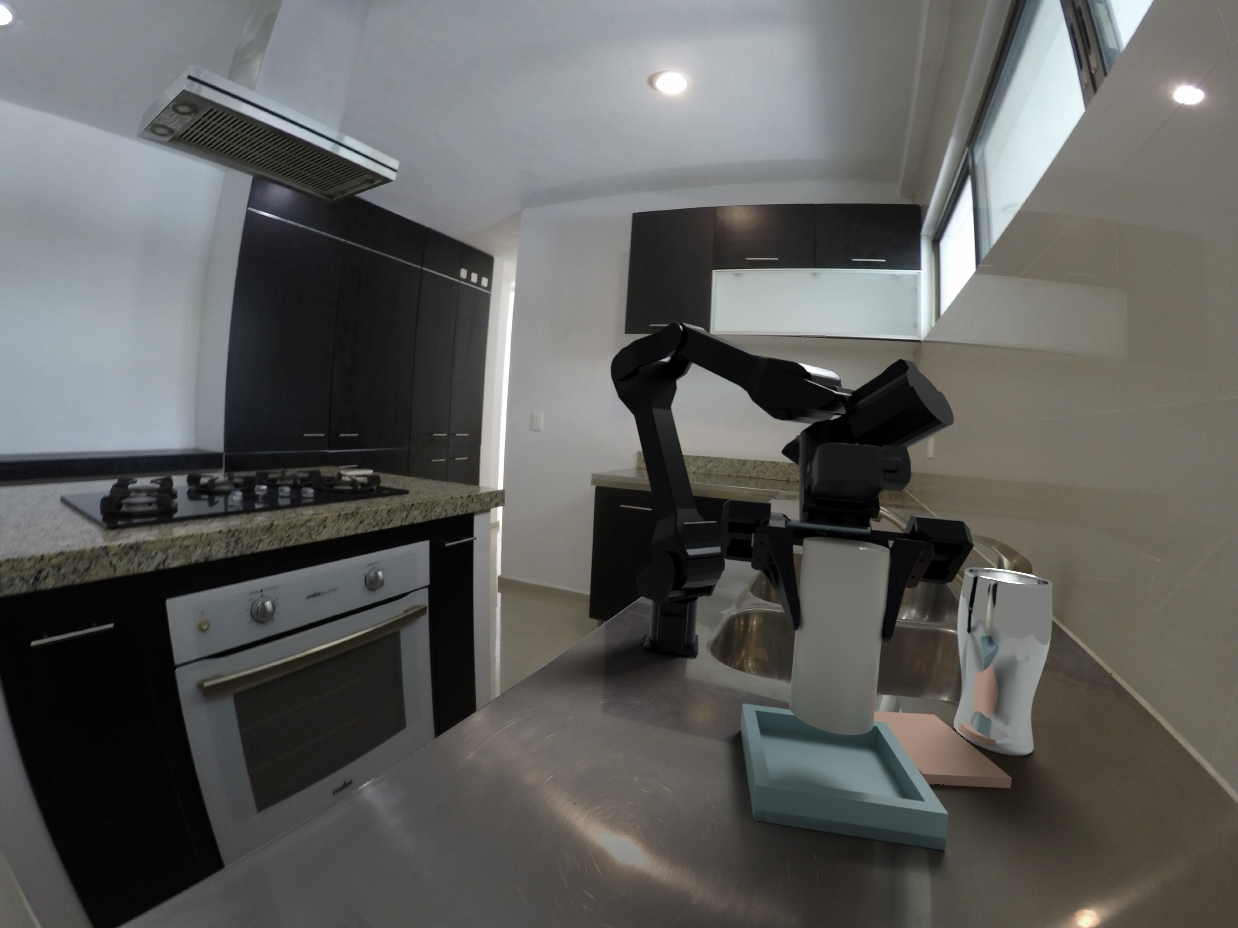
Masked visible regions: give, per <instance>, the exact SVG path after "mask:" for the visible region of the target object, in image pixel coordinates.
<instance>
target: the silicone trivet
mask: <svg viewBox="0 0 1238 928" xmlns="http://www.w3.org/2000/svg"><path fill="white" fill-rule="evenodd" d="M874 721H881V722H886V723H887V725H888V726H889V728H890V729H891V731H892V732H893V734H894V735H895V736H896V738H897V739H898V741H899V742H900V744H901V745H902V747H903V748H904V750H905V751H906V753H907V754H908V755H909V757H910V758H911V760H912V761H913V763H914V764H915V766H916V767H917V769H918V770H919V772H920V773H921V775H922V776H923V777H924V779H925V780H926V782H927V783H928V785H934V784H940V785H939V786H958V787H960V786H961V787H981V788H999V789H1011V786H1012V777H1011V776H1010V775H1008V773H1006V772H1005V771H1004V770H1002V768H1000V767H999V766H998V765H997V764H995V763H994V762H993V761H992V760H991V759H989V758H988V757H987V756H985V755H984V754H983V753H982V752H981V751H980V750H978V749H977V748H976V747H975V746H974V745H973V744H972V743H971V742H969V741H967V740H966V739H964V738H963V737H961V736H960V735H959V734H958V733H957V732H956V731H955V729H954V730H953V729H952V727H950V726H949V725H948V724H946V723H945V722H944V721H943V720H942V719H941V718H939V717H938V716H937V715H936V714H933V713H931V714H930V713H913V712H892V711H877V710H875V714H874ZM943 784H944V785H943Z"/></svg>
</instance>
